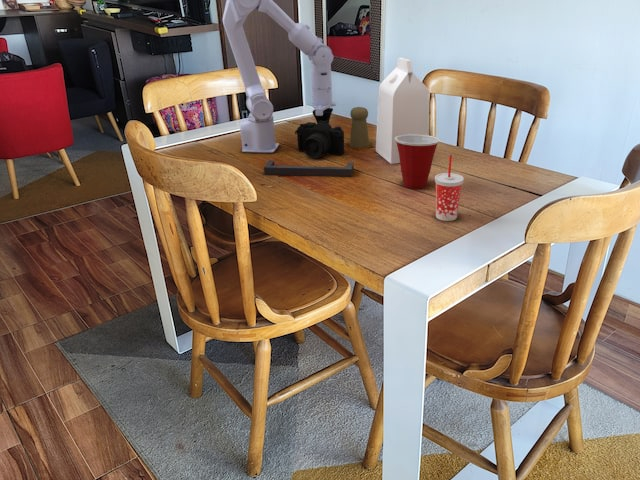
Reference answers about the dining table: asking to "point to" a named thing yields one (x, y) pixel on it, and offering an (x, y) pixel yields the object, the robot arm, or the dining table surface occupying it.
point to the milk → (400, 109)
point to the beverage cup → (448, 194)
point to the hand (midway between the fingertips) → (323, 133)
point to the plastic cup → (416, 158)
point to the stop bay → (308, 170)
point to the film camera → (320, 139)
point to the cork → (359, 128)
